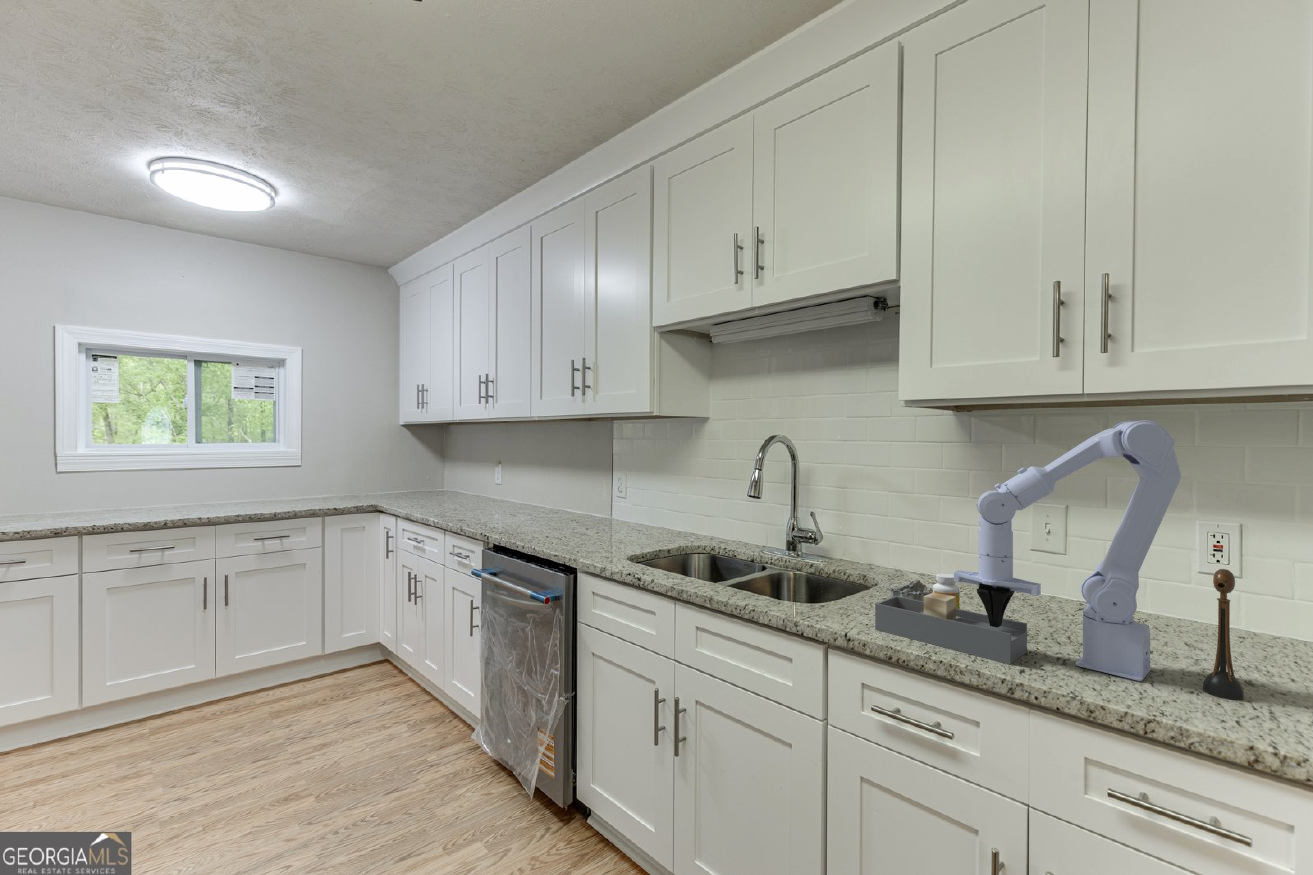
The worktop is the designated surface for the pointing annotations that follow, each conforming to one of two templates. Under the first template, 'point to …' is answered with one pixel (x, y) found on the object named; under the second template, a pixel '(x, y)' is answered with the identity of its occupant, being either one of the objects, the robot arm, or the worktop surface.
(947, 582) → the supplement bottle
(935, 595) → the maple block
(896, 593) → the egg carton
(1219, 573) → the wooden tabletop sculpture
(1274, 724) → the worktop surface
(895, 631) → the grey drawer organizer tray
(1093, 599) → the robot arm
